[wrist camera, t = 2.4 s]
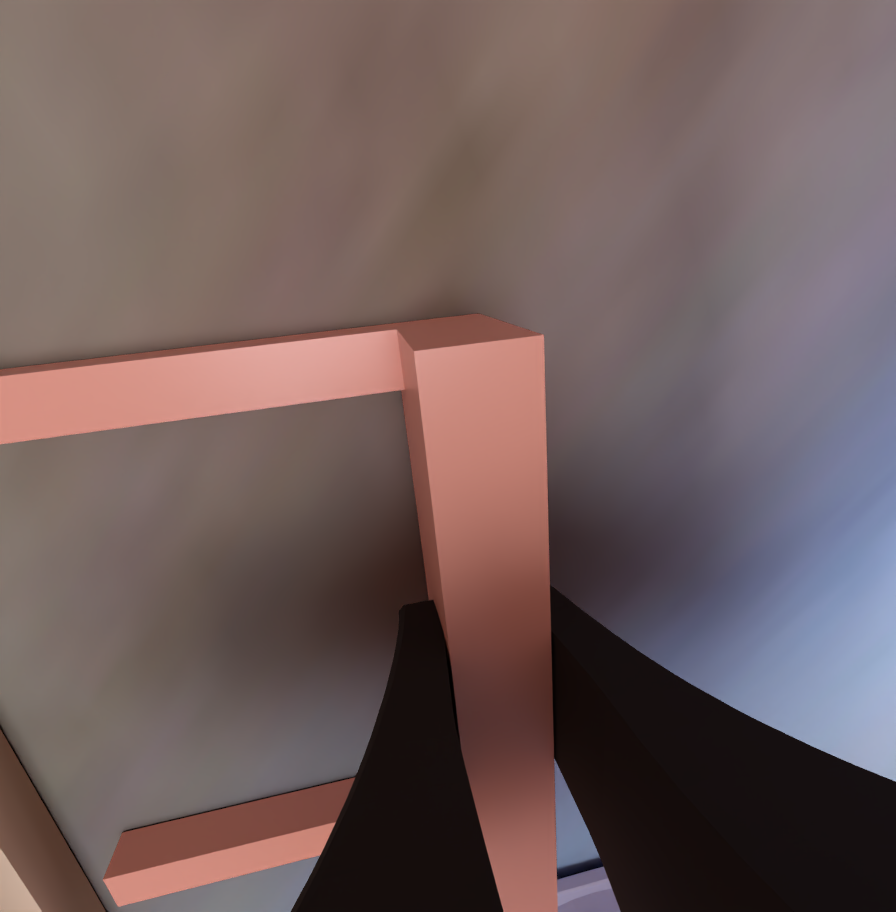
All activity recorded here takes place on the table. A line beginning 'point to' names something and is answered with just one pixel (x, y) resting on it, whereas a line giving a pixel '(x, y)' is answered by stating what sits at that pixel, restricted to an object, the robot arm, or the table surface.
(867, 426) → the table surface
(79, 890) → the architectural building model
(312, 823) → the u-shaped bracket
